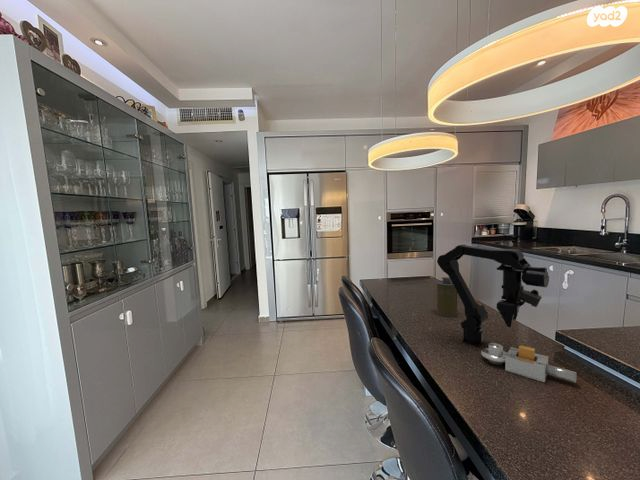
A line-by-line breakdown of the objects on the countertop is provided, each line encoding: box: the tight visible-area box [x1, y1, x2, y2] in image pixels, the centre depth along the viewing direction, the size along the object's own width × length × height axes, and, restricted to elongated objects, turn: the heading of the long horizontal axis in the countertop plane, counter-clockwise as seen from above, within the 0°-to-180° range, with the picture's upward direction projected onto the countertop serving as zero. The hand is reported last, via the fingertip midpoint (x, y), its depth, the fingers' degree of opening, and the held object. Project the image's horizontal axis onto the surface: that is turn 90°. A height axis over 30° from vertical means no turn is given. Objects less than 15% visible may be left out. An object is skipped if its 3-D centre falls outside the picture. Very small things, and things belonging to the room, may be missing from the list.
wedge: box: [518, 344, 536, 361], centre depth 91 cm, size 4×2×8 cm, turn 45°
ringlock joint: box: [480, 342, 577, 384], centre depth 91 cm, size 26×9×6 cm, turn 45°
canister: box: [436, 276, 460, 318], centre depth 146 cm, size 11×10×20 cm
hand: (511, 323), depth 101 cm, fingers open, 9 cm apart
